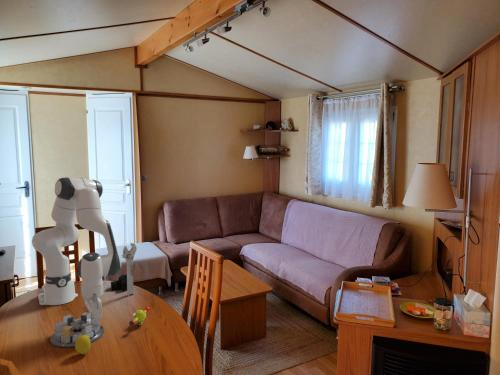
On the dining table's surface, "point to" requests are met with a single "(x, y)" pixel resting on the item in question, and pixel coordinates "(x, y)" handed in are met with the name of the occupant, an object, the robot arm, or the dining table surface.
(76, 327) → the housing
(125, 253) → the wrench
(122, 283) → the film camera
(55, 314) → the dining table surface
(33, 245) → the robot arm
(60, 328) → the cube bead bracelet
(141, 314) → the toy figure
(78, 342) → the lemon
